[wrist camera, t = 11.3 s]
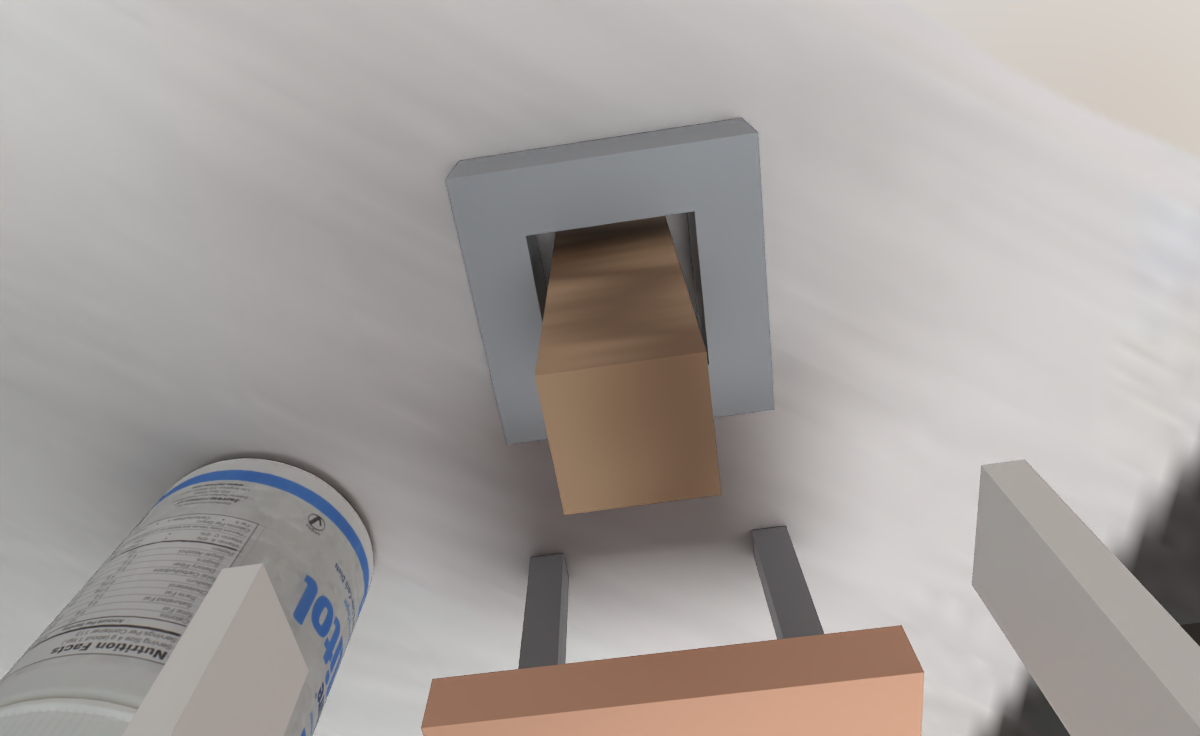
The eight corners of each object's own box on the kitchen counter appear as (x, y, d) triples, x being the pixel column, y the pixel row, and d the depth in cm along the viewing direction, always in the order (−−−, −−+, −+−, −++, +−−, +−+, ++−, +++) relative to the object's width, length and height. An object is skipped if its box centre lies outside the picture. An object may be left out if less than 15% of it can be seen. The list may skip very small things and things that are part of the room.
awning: (532, 588, 37) (496, 942, 23) (492, 419, 33) (420, 727, 19) (793, 556, 36) (913, 903, 22) (784, 381, 32) (924, 672, 18)
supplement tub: (403, 607, 37) (297, 954, 24) (209, 633, 38) (0, 986, 24) (340, 430, 33) (169, 732, 20) (123, 462, 33) (-185, 777, 20)
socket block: (513, 406, 32) (506, 444, 30) (459, 160, 28) (444, 179, 25) (758, 373, 32) (774, 409, 29) (741, 117, 27) (758, 132, 25)
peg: (574, 329, 31) (564, 515, 20) (556, 230, 29) (534, 376, 18) (676, 314, 31) (721, 494, 20) (664, 214, 29) (706, 351, 18)
